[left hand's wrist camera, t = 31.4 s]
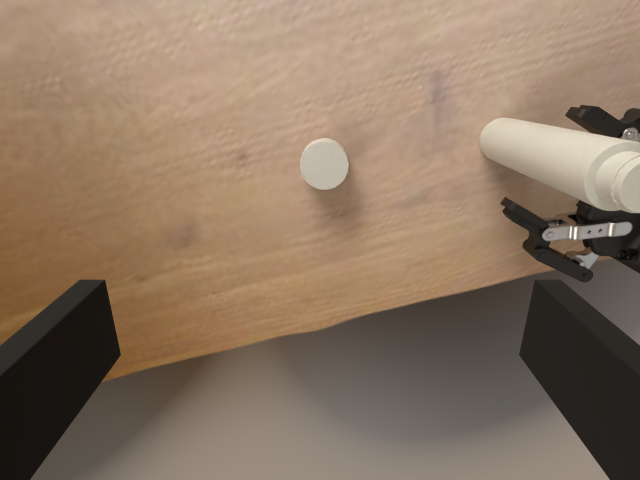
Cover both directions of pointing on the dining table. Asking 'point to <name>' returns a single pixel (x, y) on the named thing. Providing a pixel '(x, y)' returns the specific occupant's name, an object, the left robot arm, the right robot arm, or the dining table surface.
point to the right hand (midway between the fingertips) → (538, 158)
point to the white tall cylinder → (569, 161)
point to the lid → (324, 164)
